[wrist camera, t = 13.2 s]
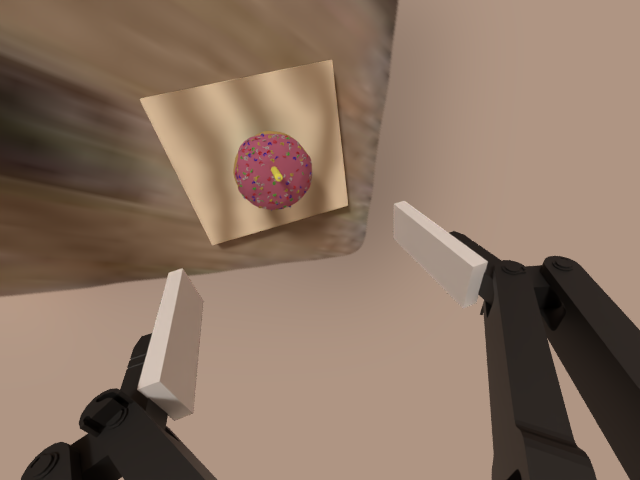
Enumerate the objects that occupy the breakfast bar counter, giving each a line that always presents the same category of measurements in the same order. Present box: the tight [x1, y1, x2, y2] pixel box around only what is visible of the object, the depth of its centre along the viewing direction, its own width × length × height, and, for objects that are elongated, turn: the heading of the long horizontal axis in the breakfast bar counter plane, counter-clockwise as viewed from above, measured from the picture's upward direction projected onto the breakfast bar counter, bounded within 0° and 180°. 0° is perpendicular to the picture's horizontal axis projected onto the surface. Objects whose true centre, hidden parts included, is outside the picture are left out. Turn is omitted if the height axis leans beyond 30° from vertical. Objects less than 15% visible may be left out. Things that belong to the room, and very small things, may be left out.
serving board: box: [140, 60, 348, 245], centre depth 33 cm, size 20×18×2 cm
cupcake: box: [233, 131, 313, 211], centre depth 27 cm, size 9×8×12 cm
